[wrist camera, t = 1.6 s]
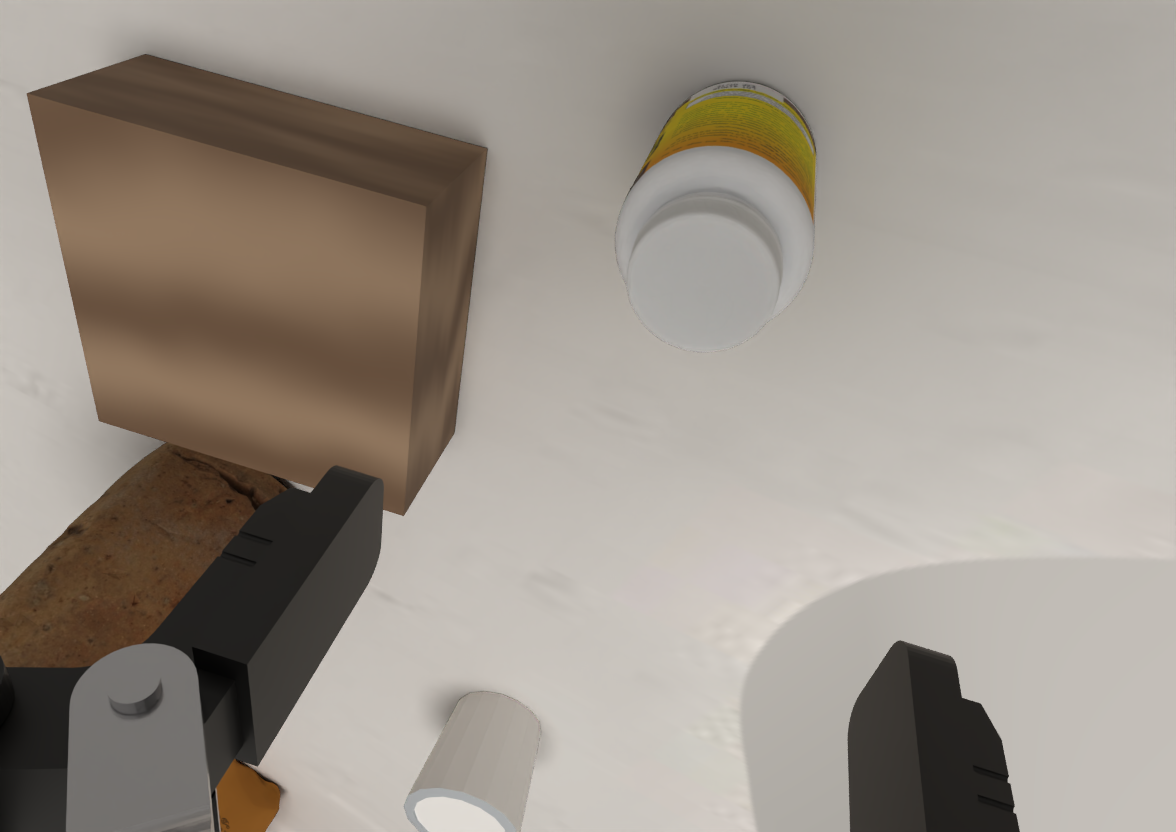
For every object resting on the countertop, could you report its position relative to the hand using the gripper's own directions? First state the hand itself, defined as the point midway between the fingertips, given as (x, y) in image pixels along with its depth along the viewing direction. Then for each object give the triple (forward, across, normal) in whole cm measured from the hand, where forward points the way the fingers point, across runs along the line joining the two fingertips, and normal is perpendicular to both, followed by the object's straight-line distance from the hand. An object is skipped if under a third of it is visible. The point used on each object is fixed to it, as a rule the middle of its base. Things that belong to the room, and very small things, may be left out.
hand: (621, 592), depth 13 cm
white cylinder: (+21, +4, +38) cm, 44 cm away
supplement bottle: (+21, 0, 0) cm, 21 cm away
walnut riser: (+21, +16, +9) cm, 28 cm away
